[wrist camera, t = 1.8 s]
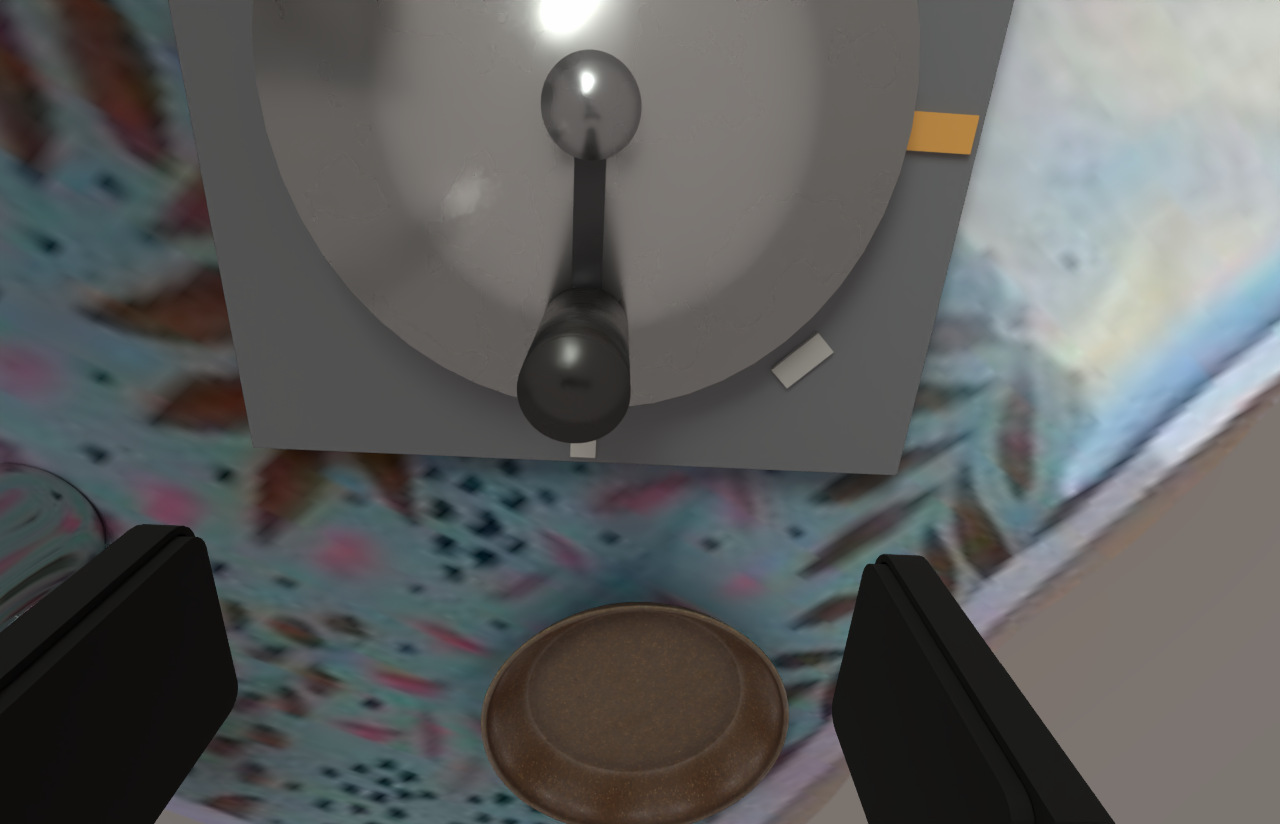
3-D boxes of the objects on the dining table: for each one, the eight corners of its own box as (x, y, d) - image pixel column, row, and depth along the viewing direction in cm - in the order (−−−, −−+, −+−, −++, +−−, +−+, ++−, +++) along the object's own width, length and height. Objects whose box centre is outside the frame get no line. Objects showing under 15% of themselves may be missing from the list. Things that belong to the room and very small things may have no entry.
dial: (214, -351, 17) (-54, -667, 10) (977, -274, 18) (1191, -516, 11) (317, 383, 25) (205, 476, 18) (841, 408, 26) (918, 505, 19)
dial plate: (112, -475, 17) (61, -536, 15) (1078, -370, 18) (1120, -416, 17) (271, 431, 27) (250, 449, 26) (883, 458, 28) (898, 477, 27)
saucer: (762, 547, 31) (775, 585, 28) (789, 766, 36) (801, 812, 34) (455, 597, 31) (441, 638, 29) (530, 804, 37) (523, 852, 35)
